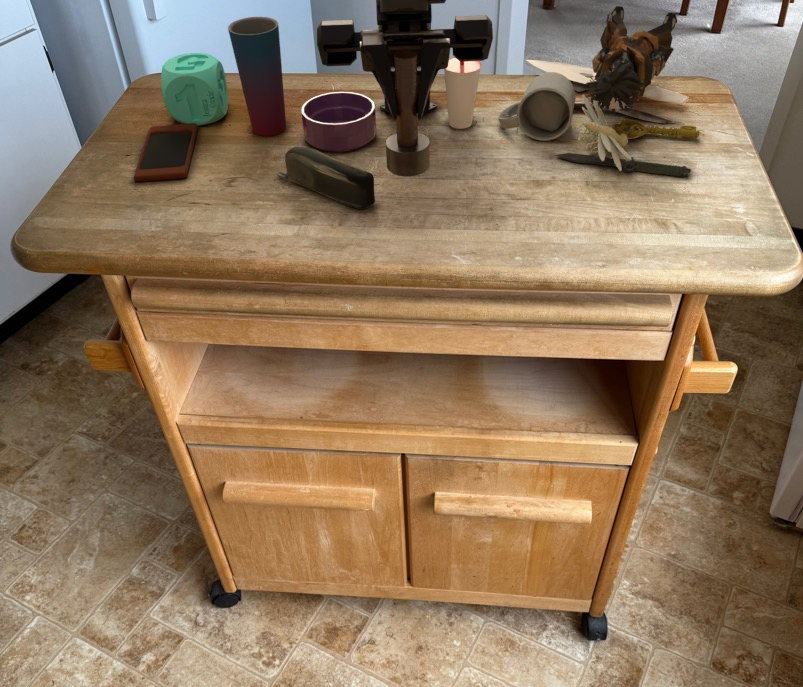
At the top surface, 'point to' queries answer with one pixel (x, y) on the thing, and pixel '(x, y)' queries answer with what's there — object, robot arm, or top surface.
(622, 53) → the figurine
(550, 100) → the ceramic mug
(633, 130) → the key
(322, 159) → the dark green rounded bar
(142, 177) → the smartphone
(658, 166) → the knife
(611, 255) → the top surface
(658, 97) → the knife
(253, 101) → the cup
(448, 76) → the cup
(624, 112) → the knife
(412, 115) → the brown handled tamper
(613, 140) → the toy
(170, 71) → the decorative dice
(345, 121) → the bowl
